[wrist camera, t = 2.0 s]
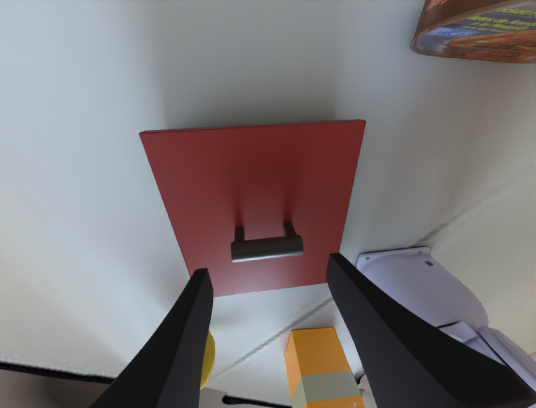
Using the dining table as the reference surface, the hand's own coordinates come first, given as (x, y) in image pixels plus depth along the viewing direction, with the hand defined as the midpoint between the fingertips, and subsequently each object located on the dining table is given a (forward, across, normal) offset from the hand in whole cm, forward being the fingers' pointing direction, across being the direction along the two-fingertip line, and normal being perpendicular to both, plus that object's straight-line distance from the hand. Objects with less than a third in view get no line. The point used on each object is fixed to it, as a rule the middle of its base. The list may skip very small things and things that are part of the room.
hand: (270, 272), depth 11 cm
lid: (+5, 0, 0) cm, 5 cm away
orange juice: (+9, -7, +30) cm, 32 cm away
